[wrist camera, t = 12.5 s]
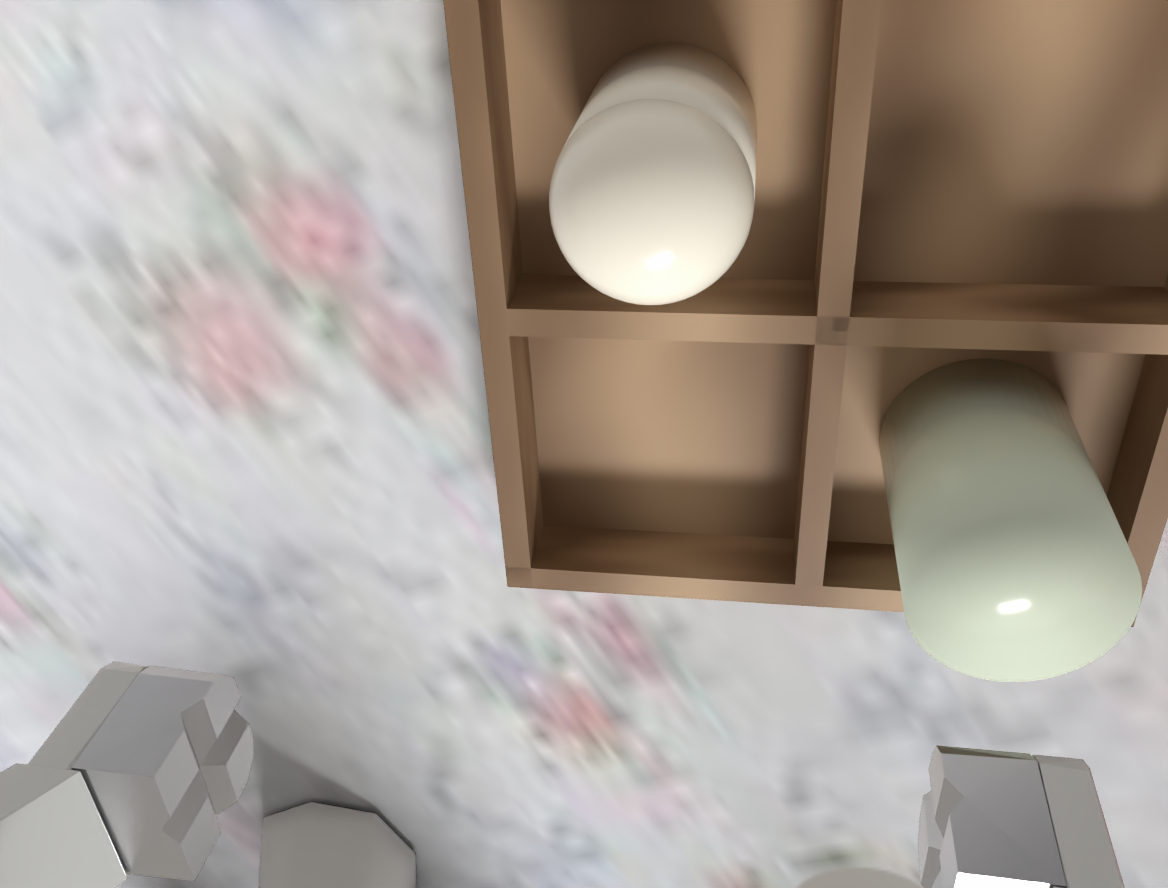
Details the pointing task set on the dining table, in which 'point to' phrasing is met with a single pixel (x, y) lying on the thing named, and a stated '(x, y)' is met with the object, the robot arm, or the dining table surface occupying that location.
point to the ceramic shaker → (658, 176)
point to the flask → (332, 850)
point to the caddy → (817, 280)
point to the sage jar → (1002, 526)
